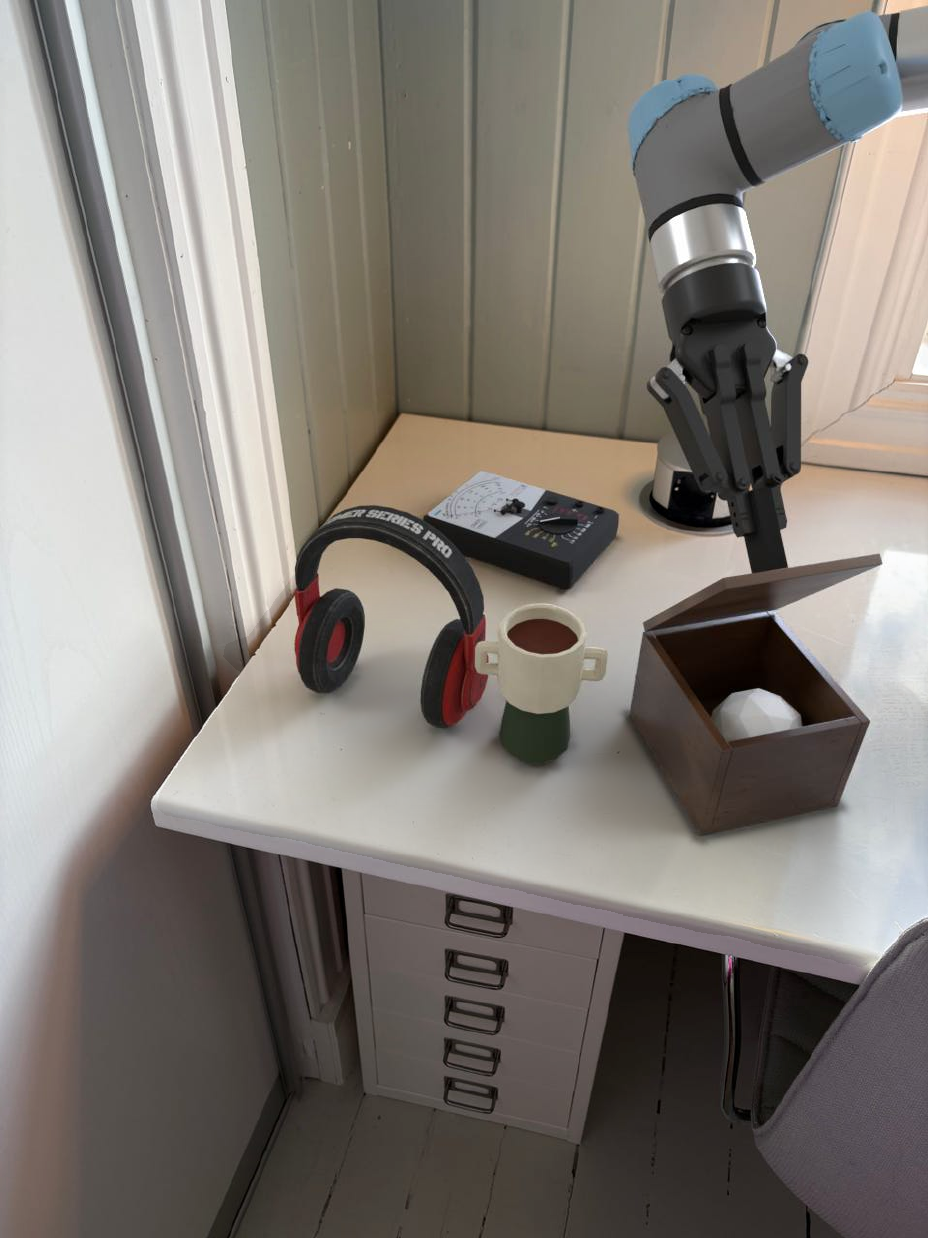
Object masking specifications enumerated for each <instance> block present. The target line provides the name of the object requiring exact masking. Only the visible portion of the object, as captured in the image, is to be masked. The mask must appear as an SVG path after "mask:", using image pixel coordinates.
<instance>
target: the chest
mask: <svg viewBox="0 0 928 1238" xmlns="http://www.w3.org/2000/svg"><path fill="white" fill-rule="evenodd" d="M633 684H634V685H633V690H632V696H631V697H632V698H631V703H630V709H629V716H630V718H631V719H632V721H633V723H634V725H635V726H636V728H637V729H638V731H639V733H640V735H641V736H642V738H643V740H644V742H645V743H646V745H647V746H648V748H649V750H650V752H651V753H652V755H653V757H654V758H655V760H656V762H657V763H658V766H659V767H660V769H661V771H662V772H663V774H664V776H665V778H666V779H667V781H668V782H669V784H670V786H671V788H672V789H673V791H674V793H675V795H676V796H677V798H678V800H679V801H680V803H681V805H682V806H683V808H684V810H685V811H686V813H687V815H688V817H689V819H690V820H691V821H692V823H693V825H694V827H695V829H696V831H697V832H698V834H699V836H707V835H711V834H715V833H716V834H717V833H720V832H724V831H730V830H733V829H738V828H742V827H743V828H744V827H747V826H748V827H749V826H753V825H757V824H760V823H761V824H762V823H766V822H770V821H775V820H779V819H784V818H788V817H792V816H796V815H802V814H807V813H811V812H815V811H820V810H825V809H829V808H835V807H838V806H839V804H840V802H841V798H842V796H843V793H844V791H845V788H846V786H847V784H848V780H849V779H850V775H851V773H852V770H853V768H854V765H855V763H856V760H857V757H858V755H859V752H860V749H861V747H862V745H863V742H864V739H865V737H866V734H867V732H868V729H869V726H870V724H871V720H870V719H869V718H868V717H867V715H866V714H865V713H864V712H863V711H862V710H861V708H860V707H859V706H858V704H856V703H855V702H854V701H853V699H852V698H851V697H850V696H849V695H848V693H847V692H846V691H845V690H844V688H842V687H841V685H839V683H838V682H837V681H836V680H835V679H834V678H833V676H832V675H831V674H830V673H829V672H828V671H827V669H826V668H825V667H824V666H823V665H822V664H821V663H820V661H819V660H818V659H817V658H816V657H815V656H814V655H813V653H812V652H811V651H810V650H809V648H808V647H807V646H806V645H805V644H804V643H803V641H801V639H800V638H799V637H798V636H797V635H796V634H795V632H794V631H792V629H791V628H790V627H789V626H788V625H787V624H786V623H785V622H784V620H783V619H782V618H781V617H780V616H779V615H778V613H777V612H776V610H773V611H767V612H761V613H755V614H749V615H743V616H737V617H731V618H725V619H719V620H713V621H707V622H701V623H695V624H689V625H683V626H677V627H671V628H666V629H660V630H654V631H648V632H645V631H643V632H642V636H641V642H640V648H639V654H638V660H637V667H636V673H635V679H634V683H633ZM757 688H759V689H762V690H765V691H768V692H770V693H773V694H776V695H779V696H781V697H782V698H783V699H784V700H785V701H786V702H787V703H788V704H789V705H790V706H792V707H793V708H794V709H795V710H796V711H797V712H798V713H799V714H800V715H801V721H802V727H800V728H794V729H789V730H784V731H779V732H774V733H769V734H764V735H759V736H754V737H749V738H744V739H739V740H734V741H729V742H727V741H726V740H725V738H724V737H723V735H722V734H721V732H720V731H719V729H718V728H717V726H716V725H715V723H714V722H713V720H712V719H711V716H712V712H713V710H714V709H715V708H716V707H717V706H719V705H720V704H721V703H722V702H723V701H724V700H725V699H726V698H727V697H728V696H730V695H731V694H732V693H736V692H741V691H746V690H752V689H757Z"/></svg>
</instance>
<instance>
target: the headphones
mask: <svg viewBox="0 0 928 1238" xmlns="http://www.w3.org/2000/svg"><path fill="white" fill-rule="evenodd" d="M348 539H361V540H368V541H369V540H370V541H375V542H378V543H381V544H385V545H387V546H390V547H392V548H394V549H395V550H396V549H397V550H399V551H401V552H402V553H404V554H406V555H407V556H409V557H411V558H412V559H414V560H415V561H417V562H418V563H419V564H421V565H422V566H423V567H425V568H426V569H427V570H428V571H429V572H430V573H431V574H432V575H433V576H434V578H436V579H437V581H439V583H441V585H442V586H443V587H444V589H445V590H446V591H447V592H448V595H449V596H450V598H451V600H452V602H453V604H454V606H455V608H456V611H457V614H458V616H459V618H455V619H453V620H451V621H449V622H448V623H446V624H445V625H444V626H443V627H442V629H441V630H440V631H439V633H438V635H437V636H436V638H435V640H434V642H433V644H432V646H431V649H430V651H429V655H428V657H427V660H426V663H425V667H424V670H423V675H422V681H421V688H420V700H419V701H420V710H421V713H422V717H423V718H424V720H425V721H426V723H427V724H429V725H430V726H432V727H435V728H436V729H443V730H444V729H447V728H451V727H452V726H453V725H455V724H457V723H459V722H460V721H461V720H462V719H463V718H464V717H465V715H466V714H467V712H468V711H470V710H473V709H474V708H475V707H476V706H477V704H478V703H479V702H480V701H481V699H482V697H483V694H484V693H485V690H486V687H487V683H488V680H489V675H486V674H480V673H478V672H477V671H476V668H475V647H476V645H477V643H479V642H482V641H486V635H487V633H486V632H487V631H486V629H487V622H486V620H487V619H486V614H484V612H485V599H484V593H483V590H482V588H481V587H482V586H481V583H480V581H479V579H478V577H477V576H476V573H475V571H474V569H473V568H472V565H471V564H470V563H469V561H468V560H467V558H466V556H465V555H463V554H462V553H461V552H460V551H459V550H458V549H457V547H456V546H455V545H454V544H453V543H452V542H451V541H450V540H449V539H448V538H447V537H446V536H445V535H443V534H442V533H441V532H440V531H439V530H437V529H436V528H435V527H433V526H432V525H430V524H429V523H427V522H426V521H424V520H423V518H420V517H418V516H416V515H414V514H412V513H409V512H408V511H404V510H399V509H398V508H393V507H389V506H382V505H376V504H369V505H357V506H354V507H350V508H346V509H343V510H341V511H339V512H337V513H335V514H333V515H332V516H330V517H329V518H328V519H327V520H326V521H325V522H324V523H323V524H321V526H320V527H318V528H317V530H316V531H314V533H312V535H310V537H309V538H307V540H306V541H305V542H304V544H303V545H302V546H301V548H300V550H299V552H298V554H297V557H296V560H295V565H294V580H295V587H296V588H295V589H294V603H295V609H296V616H297V621H298V625H297V629H296V632H295V636H294V644H293V645H294V654H295V665H296V668H297V672H298V675H299V677H300V680H301V681H302V683H303V685H304V686H305V688H307V689H309V690H311V691H313V692H315V693H317V694H330V693H333V692H334V691H336V690H338V689H340V688H341V687H342V686H343V684H345V682H346V681H347V680H348V678H349V677H350V676H351V674H352V673H353V670H354V668H355V666H356V664H357V662H358V658H359V656H360V653H361V651H362V646H363V642H364V637H365V627H366V614H365V609H364V605H363V603H362V601H361V599H360V597H359V596H358V595H357V594H356V593H354V592H353V591H351V590H349V589H345V588H337V587H336V588H333V589H330V590H328V591H326V592H325V593H324V594H322V595H321V594H320V584H319V583H320V582H319V581H320V574H319V568H320V563H321V559H322V556H323V554H324V552H325V551H326V550H327V549H328V547H329V546H330V545H332V544H333V543H335V542H337V541H342V540H348ZM487 663H490V661H489V653H487Z"/></svg>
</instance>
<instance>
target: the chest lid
mask: <svg viewBox="0 0 928 1238" xmlns="http://www.w3.org/2000/svg"><path fill="white" fill-rule="evenodd" d="M881 565H883V559H882V557H881V553H872V554H866V555H859V556H854V557H847V558H841V559H835V560H828V561H822V562H815V563H809V564H803V565H796V566H788V568H783V569H777V570H770V571H764V572H757V573H752V572H751V573H745V574H739V575H733V576H726V577H722V578H721V579H719V580H716V581H715V582H713V583H712V584H710V585H708V586H706V587H704V588H703V589H700V590H699V591H697V592H695V593H693V594H692V595H690V596H688V597H686V598H684V599H683V600H681V601H679V602H677V603H675V604H674V605H672V606H670V607H668V608H666V609H665V610H663V611H661V612H659V613H658V614H655V615H654V616H652V617H650V618H649V619H646V620H644V621H642V625H643V630H644V632H648V631H654V630H660V629H666V628H671V627H677V626H683V625H689V624H695V623H701V622H707V621H713V620H719V619H725V618H731V617H737V616H743V615H749V614H755V613H761V612H767V611H773V610H774V611H777V610H779V609H782V608H784V607H786V606H790V605H791V604H793V603H795V602H798V601H800V600H802V599H805V598H807V597H810V596H813V595H814V594H816V593H819V592H821V591H823V590H827V589H828V588H831V587H833V586H836V585H837V584H839V583H842V582H844V581H847V580H849V579H852V578H854V577H856V576H858V575H861V574H863V573H866V572H868V571H870V570H873V569H875V568H877V567H879V566H881Z"/></svg>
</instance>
